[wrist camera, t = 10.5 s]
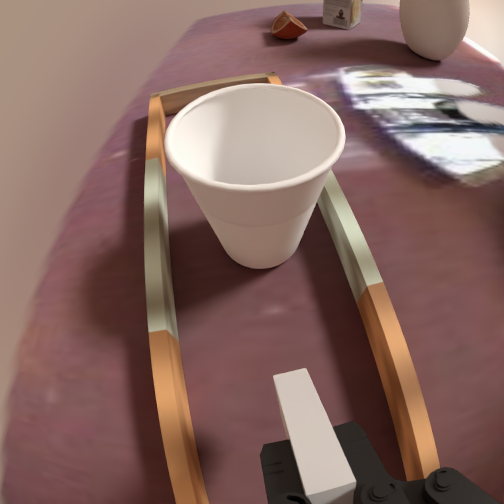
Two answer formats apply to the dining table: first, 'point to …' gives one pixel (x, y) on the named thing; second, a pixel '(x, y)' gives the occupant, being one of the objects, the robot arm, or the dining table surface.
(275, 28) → the fruit slice
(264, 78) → the track
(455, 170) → the dining table surface
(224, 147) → the cup
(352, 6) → the coffee box
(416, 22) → the vase
